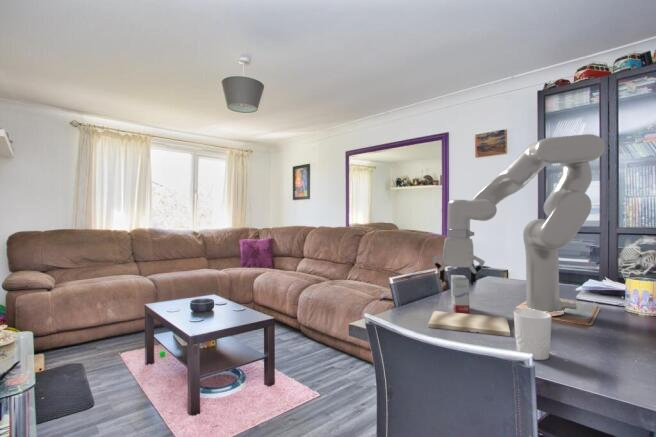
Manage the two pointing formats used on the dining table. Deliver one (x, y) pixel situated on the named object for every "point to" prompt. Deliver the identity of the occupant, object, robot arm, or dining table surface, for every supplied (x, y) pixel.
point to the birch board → (470, 323)
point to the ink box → (460, 294)
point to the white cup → (533, 332)
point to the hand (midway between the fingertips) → (457, 282)
